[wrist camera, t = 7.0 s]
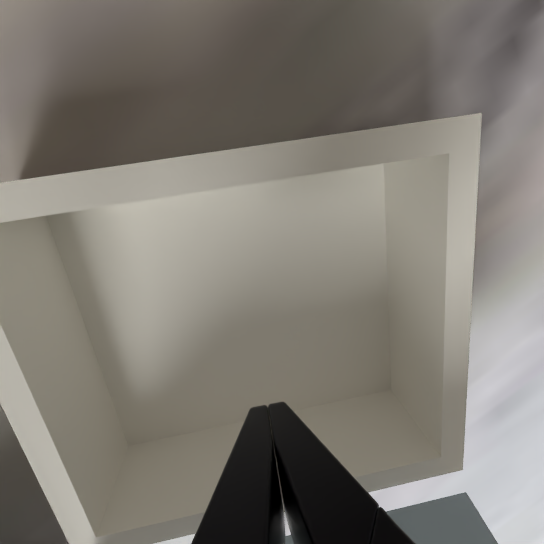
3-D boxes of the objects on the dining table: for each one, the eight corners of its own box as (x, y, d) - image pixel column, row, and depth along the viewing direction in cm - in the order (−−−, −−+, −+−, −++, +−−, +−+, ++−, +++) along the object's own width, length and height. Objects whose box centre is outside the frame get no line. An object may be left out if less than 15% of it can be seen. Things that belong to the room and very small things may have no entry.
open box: (403, 394, 19) (462, 469, 14) (117, 455, 18) (77, 561, 13) (398, 130, 14) (481, 112, 10) (16, 186, 13) (-101, 197, 8)
